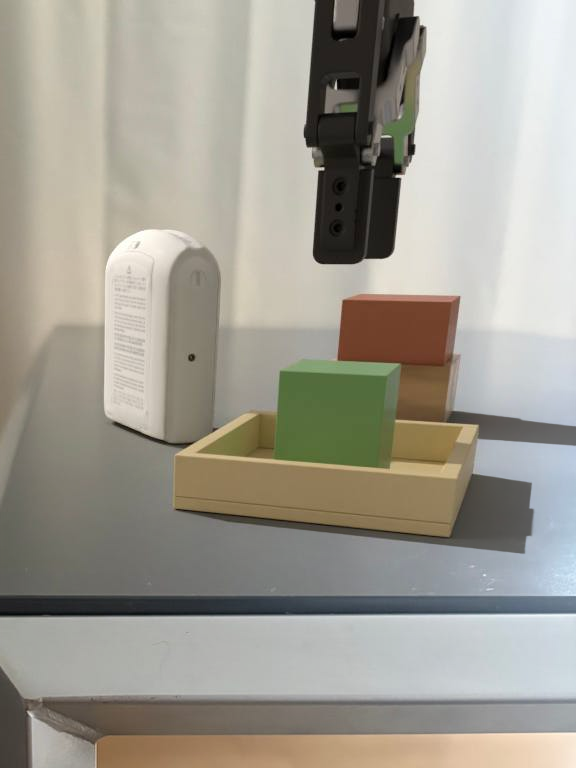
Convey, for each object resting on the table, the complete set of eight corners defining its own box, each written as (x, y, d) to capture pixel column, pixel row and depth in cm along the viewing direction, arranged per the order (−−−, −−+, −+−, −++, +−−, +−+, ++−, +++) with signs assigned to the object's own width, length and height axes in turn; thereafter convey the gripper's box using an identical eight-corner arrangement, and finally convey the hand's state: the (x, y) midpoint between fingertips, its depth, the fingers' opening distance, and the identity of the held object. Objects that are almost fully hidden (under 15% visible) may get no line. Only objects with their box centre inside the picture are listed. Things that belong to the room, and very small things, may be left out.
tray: (248, 454, 59) (250, 409, 58) (472, 472, 54) (479, 424, 53) (172, 508, 47) (174, 454, 46) (449, 538, 43) (457, 478, 42)
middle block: (354, 350, 74) (359, 293, 73) (453, 354, 72) (460, 295, 70) (336, 361, 68) (342, 299, 67) (443, 365, 66) (451, 301, 64)
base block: (344, 403, 76) (349, 349, 75) (453, 409, 73) (461, 353, 72) (323, 420, 69) (328, 361, 68) (442, 428, 67) (450, 366, 65)
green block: (294, 464, 54) (302, 358, 52) (389, 472, 52) (401, 363, 50) (271, 484, 49) (279, 370, 47) (374, 493, 48) (387, 375, 45)
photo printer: (223, 441, 63) (233, 228, 58) (162, 446, 61) (167, 228, 56) (150, 415, 71) (154, 229, 67) (96, 420, 70) (95, 229, 65)
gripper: (477, -252, 33) (420, 268, 39) (498, -125, 45) (453, 257, 51) (256, -213, 36) (236, 267, 42) (332, -104, 48) (308, 257, 54)
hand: (355, 261), depth 47 cm, fingers open, 8 cm apart
